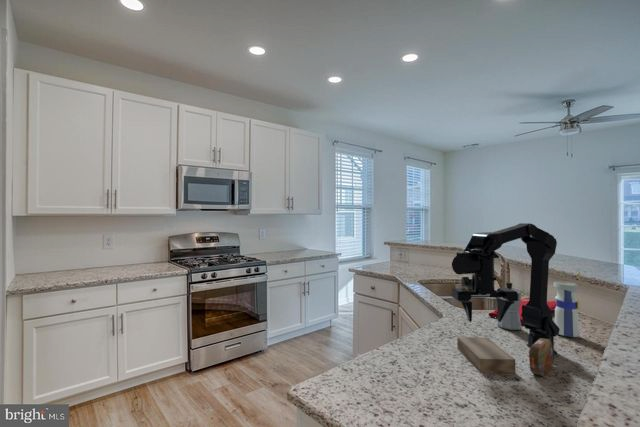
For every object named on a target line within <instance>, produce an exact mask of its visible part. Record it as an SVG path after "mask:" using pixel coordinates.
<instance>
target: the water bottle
mask: <svg viewBox="0 0 640 427" xmlns="http://www.w3.org/2000/svg"><path fill="white" fill-rule="evenodd" d="M580 275H581V273H580V270H579V269H578V270H577V278H578V280H579V279H581V276H580ZM553 287H554V288H556V292H557V293H556V296H555V297H554V298H555V300H556V302H557V306H556V308H555V309H554V323H555V324H556V325H557V326H558V327H559V329H560V330H559V334H558V335H560V336H563V337H570V338H571V337H572V338H578V337H580V328H579V311H578V310H579V308H580V302H579V300H578V298H577V295H576V294H578V288H580V286H579V285H578V284H577V283H575V282H571V281H560V280H559V281H557V280H556V281H554V282H553Z"/></svg>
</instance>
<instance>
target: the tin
mask: <svg viewBox="0 0 640 427" xmlns="http://www.w3.org/2000/svg"><path fill="white" fill-rule="evenodd" d="M554 350H555V347H554V348H553V343H552V341H551V340H550V339H544V338H540V339H538V340H537V341H536V342H535V343H534V344H533V345H532V346H531V347H530V348H529V351H528V358H529V369H530V372H531V374H534V375H537V376H541V377H545V376H546V375H547V373H548V372H549V371H550V370H551V369H552V368H553V366H554V362H555V361H554V360H555V353H554Z"/></svg>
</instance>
